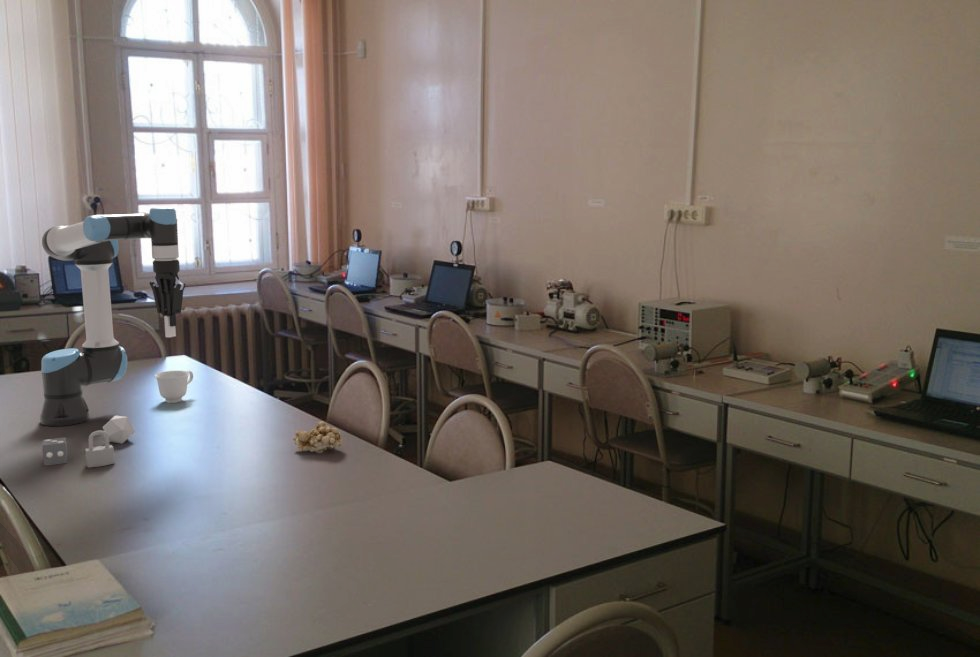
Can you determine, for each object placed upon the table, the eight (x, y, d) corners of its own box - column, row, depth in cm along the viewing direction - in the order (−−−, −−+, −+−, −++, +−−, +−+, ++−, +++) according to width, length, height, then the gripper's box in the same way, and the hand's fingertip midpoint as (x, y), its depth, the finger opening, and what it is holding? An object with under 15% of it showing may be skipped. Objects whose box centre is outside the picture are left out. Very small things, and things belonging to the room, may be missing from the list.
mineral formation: (326, 440, 281) (355, 447, 270) (290, 457, 272) (319, 465, 261) (321, 416, 279) (350, 422, 268) (284, 432, 270) (313, 439, 260)
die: (141, 441, 283) (133, 413, 286) (128, 435, 275) (121, 406, 278) (116, 451, 282) (109, 423, 286) (102, 445, 274) (95, 416, 278)
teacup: (204, 398, 334) (203, 371, 332) (171, 406, 322) (169, 379, 320) (182, 393, 341) (181, 367, 339) (149, 402, 328) (147, 375, 326)
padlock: (112, 460, 262) (110, 427, 261) (115, 464, 259) (112, 430, 257) (86, 464, 259) (83, 430, 257) (88, 468, 255) (85, 434, 254)
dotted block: (44, 459, 263) (42, 439, 262) (67, 457, 266) (65, 436, 265) (44, 466, 258) (42, 445, 257) (67, 463, 260) (65, 442, 259)
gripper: (191, 259, 274) (195, 336, 278) (160, 257, 280) (165, 333, 284) (171, 261, 267) (176, 340, 271) (140, 259, 273) (145, 336, 277)
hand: (170, 336), depth 277 cm, fingers closed
